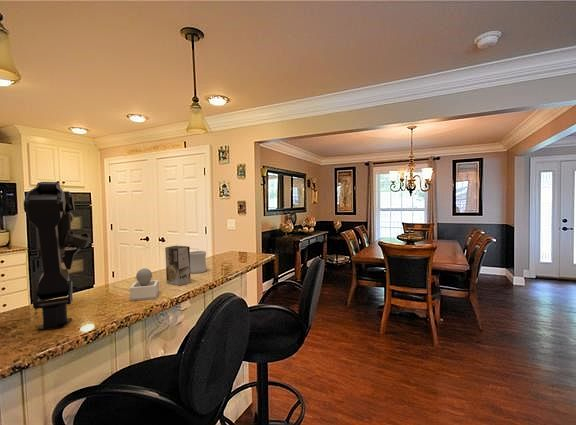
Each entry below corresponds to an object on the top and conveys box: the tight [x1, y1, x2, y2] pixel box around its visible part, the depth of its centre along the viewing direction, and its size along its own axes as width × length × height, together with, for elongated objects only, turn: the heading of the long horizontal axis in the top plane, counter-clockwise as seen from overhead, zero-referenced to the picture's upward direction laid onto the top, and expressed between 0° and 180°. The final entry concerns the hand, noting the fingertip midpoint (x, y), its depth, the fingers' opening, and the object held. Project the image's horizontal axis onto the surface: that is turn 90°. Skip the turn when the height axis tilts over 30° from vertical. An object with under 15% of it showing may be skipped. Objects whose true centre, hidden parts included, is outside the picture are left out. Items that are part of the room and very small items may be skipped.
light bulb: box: [135, 268, 153, 286], centre depth 114 cm, size 5×6×10 cm
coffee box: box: [164, 245, 192, 286], centre depth 133 cm, size 9×6×16 cm
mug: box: [190, 250, 208, 274], centre depth 153 cm, size 12×9×10 cm
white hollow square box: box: [129, 279, 160, 302], centre depth 115 cm, size 9×9×5 cm
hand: (62, 272), depth 105 cm, fingers open, 9 cm apart
